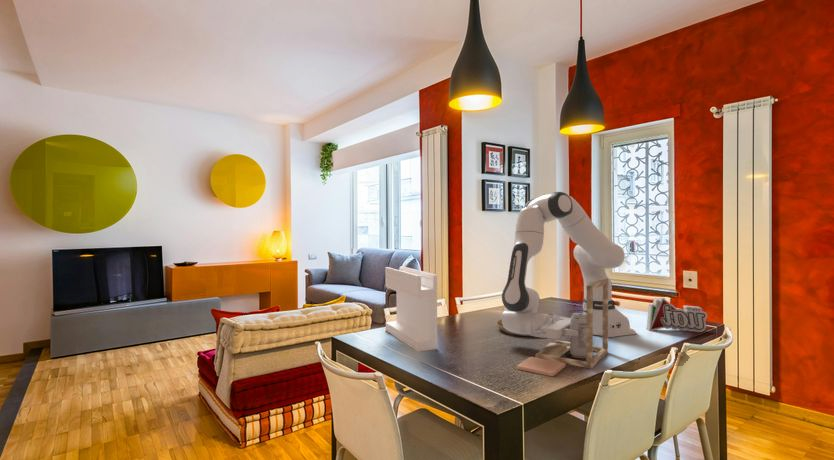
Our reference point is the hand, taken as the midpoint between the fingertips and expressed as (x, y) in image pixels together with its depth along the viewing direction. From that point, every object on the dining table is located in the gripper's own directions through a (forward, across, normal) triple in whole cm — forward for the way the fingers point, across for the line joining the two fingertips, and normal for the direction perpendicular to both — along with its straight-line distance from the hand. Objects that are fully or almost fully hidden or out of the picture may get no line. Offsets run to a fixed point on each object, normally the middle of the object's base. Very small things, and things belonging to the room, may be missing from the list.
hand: (581, 331), depth 154 cm
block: (-64, -17, +9) cm, 67 cm away
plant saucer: (-31, +24, +10) cm, 41 cm away
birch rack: (-3, 0, +9) cm, 10 cm away
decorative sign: (+22, +62, +10) cm, 67 cm away
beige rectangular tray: (-10, 0, +9) cm, 13 cm away
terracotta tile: (-7, -20, +9) cm, 23 cm away
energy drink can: (-1, 0, +9) cm, 9 cm away
